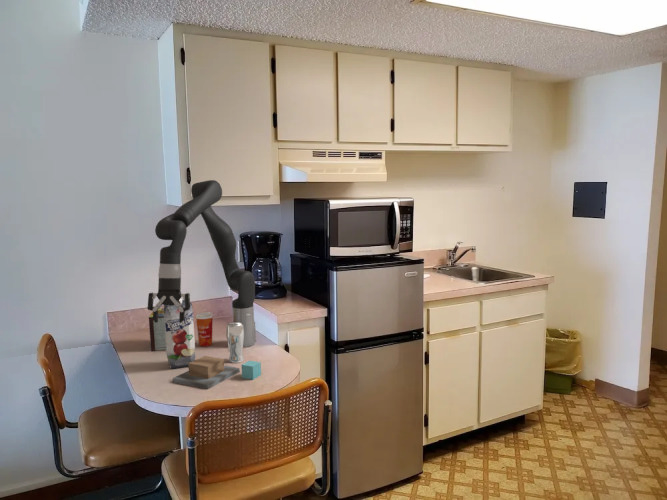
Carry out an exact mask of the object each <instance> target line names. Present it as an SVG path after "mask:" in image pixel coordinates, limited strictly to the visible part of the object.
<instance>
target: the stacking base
mask: <svg viewBox="0 0 667 500" xmlns="http://www.w3.org/2000/svg"><path fill="white" fill-rule="evenodd" d="M188 366H189V367H188V370H187V371H185V372H183V373H181V374H178V375H177V376H175V377H172V382H173V383H176V384H181V385H185V386H192V387H197V388H201V389H205V390H209V389H210V388H212V387H214V386H216V385H219V383H222V382H223V381H226V380H227V379H229V378H230V377H233V376H235V375H236V374H238V373H240V367H235V366H229V365H225V359H224V358H221V357H220V358H219V357H213V356H207V355H204V356H201V357H199V358H197V359H195V361H193V362H190V363H188Z"/></svg>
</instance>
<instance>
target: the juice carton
mask: <svg viewBox="0 0 667 500" xmlns="http://www.w3.org/2000/svg"><path fill="white" fill-rule="evenodd" d="M179 301H180V302H181V304H182V306H183V307H184V308H185V300H184V299H183V298H180V299H179ZM176 304H177V303H176ZM163 308H164V322H165V338H166V350H165V352H166V358H167V361H168V364H169V367H170V368H171V370H175V369H181V368H189V366H188V363H190V362H193V361H195V360H196V344H195V343H196V342H195V326H194V325H195V324H194V323H195V322H194V310H193V304H192V302H191V301H190V309H189V310H187V311H185V319H184V321H183V322H182V323H179V316H180V310H179V309H178V308H177V307H176V305H163Z"/></svg>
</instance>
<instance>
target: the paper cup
mask: <svg viewBox="0 0 667 500" xmlns="http://www.w3.org/2000/svg"><path fill="white" fill-rule="evenodd" d="M213 317H214V315H213V313H212V312H204V311H203V312H199V313H196V315H195V319H196V329H197V336H198V337H197V339H198V345H199V346H200V347H210V346H212V345H213Z"/></svg>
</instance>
